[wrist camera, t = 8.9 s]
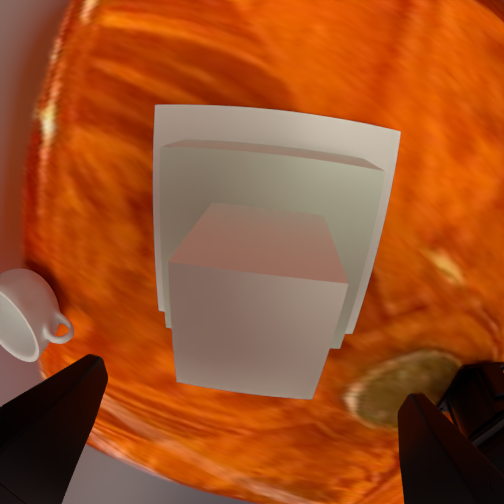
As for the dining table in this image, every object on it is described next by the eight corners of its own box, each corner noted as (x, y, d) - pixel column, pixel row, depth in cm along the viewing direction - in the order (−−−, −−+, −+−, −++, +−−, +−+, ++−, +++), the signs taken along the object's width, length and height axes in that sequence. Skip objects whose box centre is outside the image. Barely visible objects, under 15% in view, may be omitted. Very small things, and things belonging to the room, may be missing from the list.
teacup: (21, 314, 26) (-9, 342, 21) (8, 248, 23) (-30, 274, 18) (95, 346, 26) (67, 384, 21) (86, 276, 22) (48, 312, 18)
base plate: (350, 325, 22) (352, 334, 21) (163, 303, 23) (158, 310, 22) (395, 130, 16) (400, 131, 15) (161, 105, 17) (155, 104, 16)
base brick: (331, 309, 20) (339, 348, 17) (184, 291, 21) (166, 327, 17) (363, 158, 16) (385, 171, 13) (186, 138, 17) (160, 146, 13)
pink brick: (305, 308, 16) (312, 399, 10) (208, 296, 16) (176, 381, 11) (323, 215, 14) (348, 283, 8) (212, 202, 14) (168, 261, 9)
